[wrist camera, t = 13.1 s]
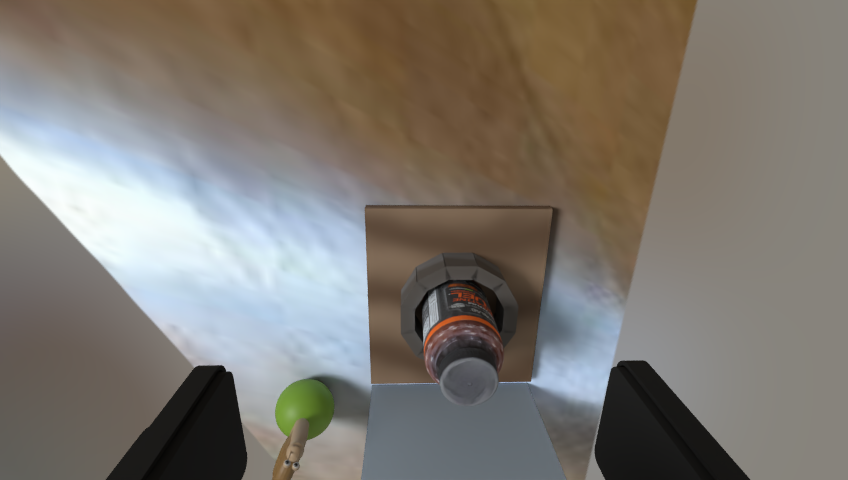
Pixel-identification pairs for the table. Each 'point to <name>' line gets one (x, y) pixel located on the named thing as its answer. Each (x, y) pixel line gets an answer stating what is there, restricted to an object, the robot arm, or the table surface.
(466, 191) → the table surface
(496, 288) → the socket
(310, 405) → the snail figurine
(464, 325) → the supplement bottle
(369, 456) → the grey l-shaped stand
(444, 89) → the table surface
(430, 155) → the table surface
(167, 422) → the robot arm
